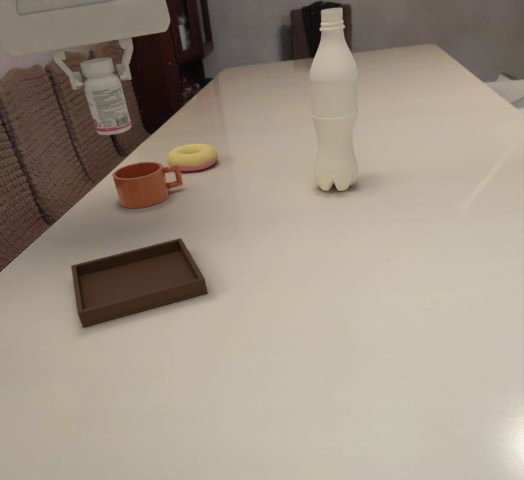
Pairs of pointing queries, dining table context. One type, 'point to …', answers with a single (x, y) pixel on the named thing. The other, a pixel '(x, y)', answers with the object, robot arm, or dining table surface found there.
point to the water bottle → (334, 104)
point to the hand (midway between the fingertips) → (101, 84)
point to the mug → (144, 183)
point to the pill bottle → (105, 97)
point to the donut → (193, 157)
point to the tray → (135, 281)
